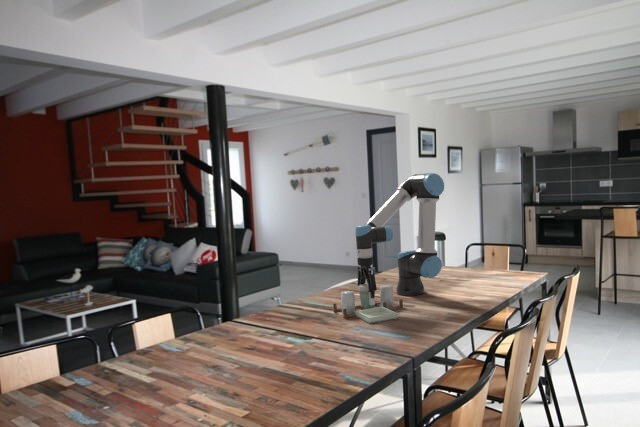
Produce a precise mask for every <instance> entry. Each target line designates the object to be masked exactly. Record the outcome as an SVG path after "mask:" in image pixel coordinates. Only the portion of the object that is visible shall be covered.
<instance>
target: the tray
mask: <svg viewBox="0 0 640 427" xmlns="http://www.w3.org/2000/svg"><path fill="white" fill-rule="evenodd" d="M355 313H356V316H355V317H357V318H358V319H360V320H362V321H364V322H365V323H367V324H369V323H370V324H374V323H381V322H386V321H391V320H396V319H398V313H397V312H396V311H393V310H389V309H387V308H385V307H382V306H381V305H380V306H377V307H376V306H375V307H374V308H370V309H364V310H361V309H360V310H355Z"/></svg>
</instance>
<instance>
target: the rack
mask: <svg viewBox="0 0 640 427" xmlns="http://www.w3.org/2000/svg"><path fill="white" fill-rule="evenodd" d="M398 301H399V302H398V303H399V305H396V306H395V305H394V307H388V308H387V306H386V302H383V307H385V308H387V309H389V310H391V309H392V310H397V309H402V308H404V303H403V302H404V300H403V299H402V298H399V300H398ZM377 304H379V305H381V303H380V301H377V302H376V301H375V305H374V306H378V305H377ZM332 307H333V313H337V312H342V307H341V308H338V307H337V303H336V302H334V303H332ZM360 307H361V308H360ZM396 308H397V309H396ZM355 309H360V310H364V306H362V305H361V304H360V305H355ZM392 310H391V311H392ZM342 315H343V318H344V319H346V318H351V317H356V312H355V313H354V314H348V315H347V310H346V309H343V314H342Z"/></svg>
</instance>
